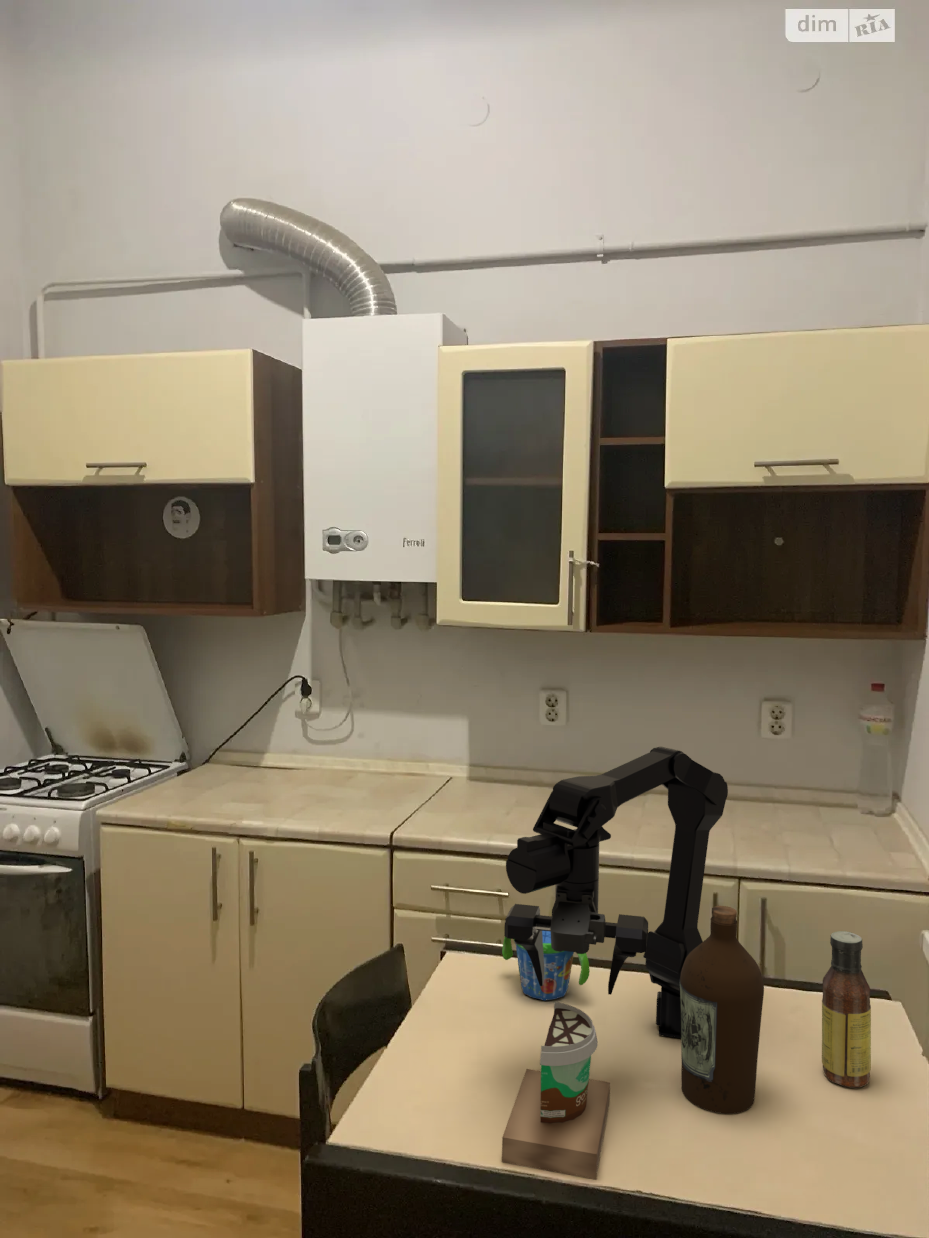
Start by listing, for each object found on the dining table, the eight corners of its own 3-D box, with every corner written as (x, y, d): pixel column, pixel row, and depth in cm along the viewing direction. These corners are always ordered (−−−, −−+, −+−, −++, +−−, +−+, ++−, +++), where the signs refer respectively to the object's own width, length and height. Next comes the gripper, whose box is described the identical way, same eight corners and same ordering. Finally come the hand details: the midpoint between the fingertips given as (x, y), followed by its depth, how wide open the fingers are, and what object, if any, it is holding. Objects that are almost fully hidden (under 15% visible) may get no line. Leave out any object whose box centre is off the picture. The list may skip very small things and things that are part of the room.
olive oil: (722, 1064, 129) (728, 890, 127) (777, 1105, 119) (784, 918, 117) (660, 1081, 124) (666, 901, 123) (712, 1125, 115) (719, 931, 113)
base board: (609, 1104, 119) (610, 1081, 119) (596, 1179, 104) (596, 1153, 104) (526, 1090, 122) (526, 1068, 121) (501, 1161, 107) (502, 1136, 107)
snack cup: (487, 985, 151) (488, 925, 151) (528, 966, 159) (529, 908, 158) (561, 1019, 140) (563, 955, 140) (602, 997, 148) (603, 935, 147)
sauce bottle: (870, 1071, 127) (877, 932, 126) (869, 1095, 122) (876, 949, 121) (820, 1060, 130) (826, 923, 129) (817, 1082, 125) (823, 940, 123)
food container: (590, 1138, 107) (592, 1055, 106) (538, 1129, 108) (540, 1047, 108) (600, 1080, 119) (602, 1005, 118) (553, 1073, 120) (555, 999, 120)
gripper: (496, 890, 117) (495, 1009, 118) (645, 905, 112) (642, 1028, 113) (513, 862, 127) (511, 970, 129) (649, 874, 123) (647, 986, 124)
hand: (575, 988), depth 123 cm, fingers open, 9 cm apart
